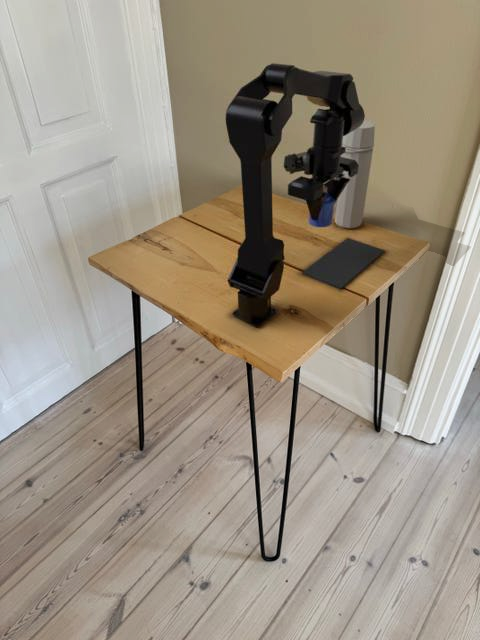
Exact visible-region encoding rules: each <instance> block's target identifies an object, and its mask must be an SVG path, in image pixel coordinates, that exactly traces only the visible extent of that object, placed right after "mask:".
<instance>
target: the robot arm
mask: <svg viewBox="0 0 480 640" xmlns="http://www.w3.org/2000/svg"><path fill="white" fill-rule="evenodd" d="M271 93H274V94H282V97H281V98H280V99H279V101H278V102H277V101H275V100H271V99H266V97H268V96H269V95H270V94H271ZM294 96H302V97H306V99H307V101H308V102H310V103H311V104H313V105H316V106H319V107H325V108H326V109H324V108H317V110H316V112H315V113H314V114H313V115H312V116H311V117H310V120H309V122H310V124H313V137H312V146H311V147H309V148H308V149H307V150H306V151H303V152H299V153H295V152H294V153H292V154H290V153H289V154H287V155H285V156H284V158H283V159H284V160H283V169H284V170H285V172H288V173H289V174H290V175H294V174H295V173H300V172H303V173H304V174H303V175H307V176H311V177H310V178H309V177H306V176H303V175H302V176H301V175H300V176H299V177H297V178H295V179H293V180H292V181H290V182H289V183H288V184H287V195H288V196H290V197H293V198H297V199H300V200H303V201H305V202H306V205H307V208H308V213H309V212H310V216H311V219H312V220H314V221H316V220H317V218H318V216H319V214H320V212H321V209H322V207H323V204H324V202H325V199H326V197H327V193H323V187H324V186H327V190H328V194H329V195H330V196H331V197H333V198H334V200H335V201H334V204H335V205H336V203H337V199H338V197H339V196H340V194H341V193H342V191H343V189H344V188H345V186H346V185H347V183H348V182H349V181H350V179H349V178H345V177H344V175H345V174H343V171H347V172H348V175H349V177H353V176H355V175H356V174H358V167H359V165H358V163H357V162H356V160H352V159H348V158H344V157H342V154H344V153H345V150H346V147H343V146H342V144H343V143H342V142H343V137H344V136H345V135H347V134H349V133H350V132H352V131H354V130H355V129H357V128H359V127H360V126H361V125H362V123H363V121H365V117H366V114H365V110H364V108H363V106H362V105H361V104H360V101H359V100H360V99H359V95H358V91H357V86H356V83H355V81H354V77H353V75H352V74H351V73H344V72H337V71H336V72H335V71H328V70H327V71H326V70H317V71H310V70H305V69H302V68H298V67H296V66H295V65H294V64H285V63H275V62H273V63H270V64H267V65H266V66H265V67H264V68H263V70H262V71H261V72H260V74H259V75H258V76H257V77H255V78H254V79H252V80H250V81H249V82H248V83H246V84H245V85H243V86H242V87H240V89H238V92H237V93H236V95H235V96H234V97H233V99H232V100H231V101H230V103H229V104H228V106H227V108H226V110H225V126H226V127H225V128H226V131H227V136H228V142H229V144H230V146H231V147H232V150H233V151H234V152H235V154H236V156H237V157H238V159H239V162H240V176H241V191H242V192H241V193H242V207H243V221H244V222H243V223H244V239H243V241H242V242H241V244H240V246H239V247H238V249H237V257H236V259H235V262H234V264H233V267H232V269H231V271H230V273H229V275H228V278H227V283H228V286H229V287H230V288H233V289H236V290H238V291H237V309H235V310H234V311H232V313H231V314H232V317H234V318H236V319H238V320H241V321H243V322H244V323H246V324H248V325H250V326H252V327H254V328H259V327H260V326H262V325H263V324H264V323H265V322H267V321H268V320H269V319H270V318H271V317H273V316H274V315H275V314H277V309H276V308H274V307H272V297H273V296H274V295H275V294H276V293H277V292H278V291H279V290H280V287H281V283H282V278H283V274H284V269H285V263H284V260H285V242H284V240H282V239H279V238H276V237H275V236H274V228H273V227H274V224H273V223H274V222H273V221H274V219H273V217H274V216H273V170H272V169H273V163H272V162H273V161H272V158H273V155H274V153H275V152H276V151H277V149H278V147H279V145H280V143H281V141H282V138H283V137H282V135H283V129H284V128H285V126H286V125H287V123H288V121H289V120H290V118H291V117H292V115H293V98H294ZM335 202H336V203H335Z"/></svg>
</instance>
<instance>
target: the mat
mask: <svg viewBox="0 0 480 640" xmlns="http://www.w3.org/2000/svg"><path fill="white" fill-rule="evenodd" d="M385 251H386V250H385V249H383V248H379V247H376V246H374V245H370V244H367V243H366V242H365V243H364V242H362V241H358V240H356V239H352V238H350V237H347V238H345V239H344V240H343V241H342V242H340V243H339V244H337V245H336V246H335V247H334V248H332V249H331V250H329V251H328V252H326V253H325V254H324V255H323V256H322V257H320V258H318V260H316V261H314V262H313V263H312V264H310V265H309V266H308V267H307V268H306V269H304V270H303V271H301V274H302V275H303V276H306V277H309V278H311V279H314V280H315V281H319V282H321V283H323V284H326V285H329V286H330V287H332V288H333V287H334V288H336V289H338V290H342V289H343V288H345V287H346V286H347V285H348V284H349V283H350V282H352V281H353V280H354V279H355V278H356V277H358V276H359V275H360V274H361V273H362V272H363V271H364V270H366V269H367V268H368V267H369V266H371V264H373V263H374V262H375V261H376V260H377V259H378V258H380V257H381V256H382V255H383V254H384V253H385Z"/></svg>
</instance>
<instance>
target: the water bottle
mask: <svg viewBox="0 0 480 640" xmlns="http://www.w3.org/2000/svg"><path fill="white" fill-rule="evenodd" d="M375 128H376V124H375V123H374V122H373V121H369V120H364V121H363V123H362V125H361V126H360V127H359V128H357V129H355V130H354V131H352V132H350V133H349V134H347V135H345V136H343V140H342V147H346V150H345V153H344V154H342V155H341V157H344V158H348V159H352V160H356V162H357V163H358V165H359V167H358V174H356V175H355V176H353V177H349V175H348V172H347V171H343V174H345V175H344V177H345V178H349V179H350V181H349V182H348V183H347V185H346V186H345V188H344V189H343V191H342V193H341V194H340V196H339V197H338V199H337V201H336V202H335V204H334V206H335V214H334V223H336V225H337V226H338V227H340V228H342V229H347V230H348V229H350V230H351V229H357V228H359V227H360V226H361V225H362V223H363V219H364V214H365V213H364V212H365V206H366V198H367V193H368V185H369V179H370V172H371V165H372V158H373V153H374V147H375V130H376V129H375Z"/></svg>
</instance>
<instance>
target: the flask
mask: <svg viewBox="0 0 480 640" xmlns="http://www.w3.org/2000/svg"><path fill="white" fill-rule="evenodd" d="M323 193H327V197H326V199H325V202H324V204H323V207H322V209H321V212H320V214H319V216H318V218H317V220H316V221H314V220H312V219H311V216H310V212H309V211H308V224H309V225H310V226H312V227H314V228H315V227H316V228H327V227H330V226H331V225H332V224H333V220H334V219H333V218H334V209H335V205H334V201H335V200H334V198H333V197H331V196H330V195H329V194H328V190H327V186H324V187H323Z"/></svg>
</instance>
